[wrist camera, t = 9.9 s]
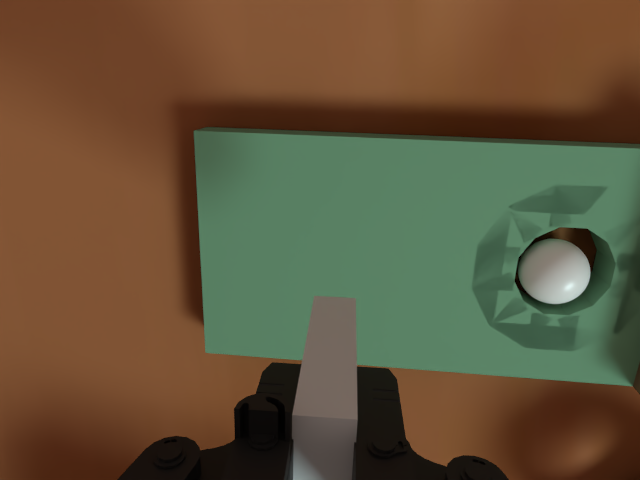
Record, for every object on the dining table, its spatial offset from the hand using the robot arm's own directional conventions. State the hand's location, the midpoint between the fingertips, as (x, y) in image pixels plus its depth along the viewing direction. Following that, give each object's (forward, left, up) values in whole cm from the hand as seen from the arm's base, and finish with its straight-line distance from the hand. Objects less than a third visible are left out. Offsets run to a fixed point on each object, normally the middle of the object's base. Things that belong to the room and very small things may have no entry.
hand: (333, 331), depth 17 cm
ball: (+10, 0, -7) cm, 13 cm away
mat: (+5, 0, -9) cm, 10 cm away
